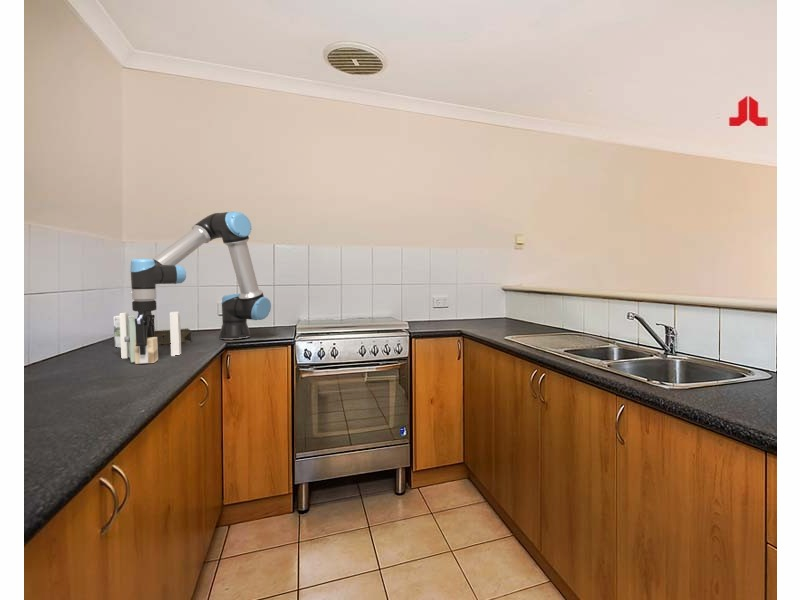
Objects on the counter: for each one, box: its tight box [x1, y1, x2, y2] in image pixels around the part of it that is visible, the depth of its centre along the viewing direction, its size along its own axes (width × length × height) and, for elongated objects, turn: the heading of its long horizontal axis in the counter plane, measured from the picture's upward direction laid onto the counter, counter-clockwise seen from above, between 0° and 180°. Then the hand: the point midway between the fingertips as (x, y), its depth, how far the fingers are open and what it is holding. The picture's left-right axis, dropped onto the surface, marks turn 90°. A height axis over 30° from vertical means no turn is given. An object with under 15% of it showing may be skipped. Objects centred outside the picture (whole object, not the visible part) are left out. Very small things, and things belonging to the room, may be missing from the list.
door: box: [124, 316, 136, 363], centre depth 146 cm, size 14×4×16 cm, turn 38°
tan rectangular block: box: [134, 337, 159, 365], centre depth 143 cm, size 6×5×9 cm
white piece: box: [118, 311, 182, 359], centre depth 154 cm, size 20×3×18 cm, turn 107°
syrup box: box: [112, 314, 135, 349], centre depth 172 cm, size 6×6×14 cm
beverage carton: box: [155, 327, 192, 346], centre depth 183 cm, size 8×19×7 cm, turn 127°
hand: (146, 361), depth 143 cm, fingers closed on tan rectangular block, 5 cm apart
